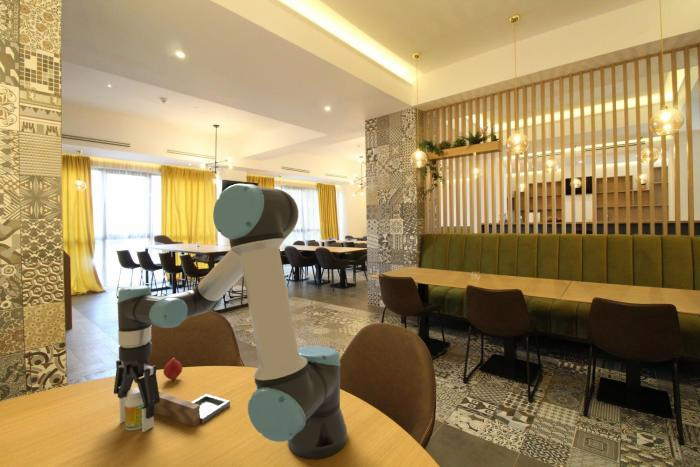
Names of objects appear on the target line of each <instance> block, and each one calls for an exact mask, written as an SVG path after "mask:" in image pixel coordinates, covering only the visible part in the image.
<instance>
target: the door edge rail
mask: <svg viewBox="0 0 700 467" xmlns="http://www.w3.org/2000/svg"><path fill="white" fill-rule="evenodd" d="M159 397H160V402H159V403H157V404H155V405H154V414H158V415H160V416H162V417H166V418H169V419H171V420H175V421H177V422H180V423H182V424H186V425H188V426H190V427H193V428H195V427H196V426H198V425H200V424H201V423H200V405H198V404H195V403H192V402H193V401H188V400H186V399H182V398H179V397H176V396H172V395H170V394H166V393H164V392H160V391H159Z"/></svg>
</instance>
